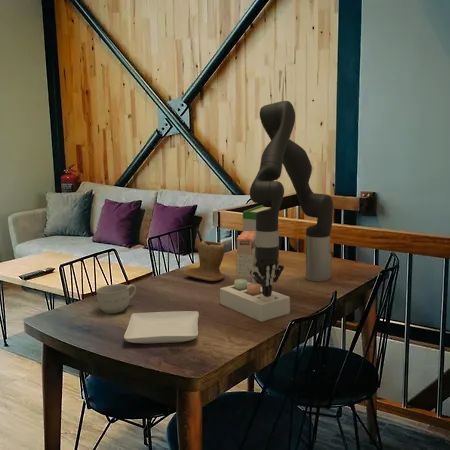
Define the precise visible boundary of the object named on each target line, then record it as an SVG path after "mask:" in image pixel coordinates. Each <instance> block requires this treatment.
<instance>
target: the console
mask: <svg viewBox="0 0 450 450" xmlns="http://www.w3.org/2000/svg"><path fill="white" fill-rule="evenodd" d="M248 284H252V283H249V282H247V285H248ZM260 287H261V293H260V294H259V295H249V294H247V289H246V290H236V289H235V288H234V284H233V285H227V286H223V287H220V288H219V303H220V305H223V306H225V307H226V308H229V309H231V310H234V311H236V312H238V313H240V314H243V315H244V316H248V317H250V318H252V319H253V320H256V321H259V322H261V323H262V322H265V321H269V320H272V319H275V318H278V317H282V316H286V315H288V314H291V297H290V296H288V295H285V294H283V293H279V292H276V291H275V290H272V295H274V300H271V301H264V300H261V295H263V294H262V285H260Z"/></svg>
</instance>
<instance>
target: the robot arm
mask: <svg viewBox="0 0 450 450" xmlns="http://www.w3.org/2000/svg"><path fill="white" fill-rule="evenodd" d="M259 120H260V123H261V125H262V127H263V129H264V131H265V133H266V134H267V135H268V137H269V139H270V141H269V143H268V144H267V145H266V146H265V148H264V149H263V152H262V154H261V157H260V164H259V170H258V171H257V173H256V176H255V177H254V179H253V182H252V183H251V186H250V188H249V197H250V199H251V201H252V202H253V203H255V204H265V205H266V204H268V205H270V204H271V208H270V209H268V210H263V211H259V212H257V214H256V234H255V258H256V260H257V261H256V264H255V269H254V270H253V271H252V270H251V271H250V274H251V276H252V277H253V278H254V280H255V281H256V282H257V284H260V286H261V287H262V294H263V295H264V296H265V297H269V296H271V294H272V291H273V284H274V283H277V282H278V280H279V278H280V276H281V274H282V272H283V270H284V269H285V267H284V265H281V264H280V263H279V260H278V259H279V258H280V257H279V256H280V235H279V215H280V209H281V205H282V201H283V199H284V195H285V188H284V185H283V184H282V182H280V181H277V180H278V179H280V178H281V175H282V170H283V167H284V169H285V171H286V174H287V175H288V177H289V179H290V181H291V183H292V186H293V188H294V191H295V193H296V196H297V199H298V202H299V205H300V208H301V210H302V212H303V214H304V215H305V216H307V217H309V218H313V219H314V218H316V219H317V221H316V224H315V225H314V224H313V225H310V226H307V227H306V230H305V279H306V280H308V281H311V282H325V281H329V280H330V279H331V278H332V265H333V264H332V261H333V260H332V257H333V256H332V253H331V230H332V228H333V227H332V226H333V214H334V213H333V212H334V202H333V199H332V197H331V195H329V194H326V193H325V194H324V193H315V192H314V191H313V189H311V186H310V183H309V182H310V179H311V175H312V171H313V166H312V163H311V160H310V157H309V156H308V153H307V152H306V150H305V149H304V148H303V147H302V146H300V145H299V144H298V143H296V142H295V141H293V140H291V139H290V138H291V135H292V133H293V129H294V126H295V122H296V111H295V108H294V105H293V103H292V102H290V101H289V100H283V101H282V100H281V101H277V102H272V103H268V104H266V105H263V106H261V108H259Z"/></svg>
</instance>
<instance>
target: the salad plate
mask: <svg viewBox="0 0 450 450" xmlns="http://www.w3.org/2000/svg"><path fill="white" fill-rule="evenodd" d="M199 315H200V313H199V311H197V310H195V311H194V310H193V311H192V310H191V311H187V310H186V311H177V310H176V311H157V312H155V311H153V312H136V313H135V312H134V313H131V315H130V317H129V322H128V325H127V328H126V329H125V333H124V335H123V338H124V339H123V340H125V341H126V342H128V343H132V344H164V343H165V344H169V343H184V342H188V341H189V342H190V341H192V340H195V339H196V338H197V337H198V335H199V328H198V327H199V325H198V324H199V322H198V321H199Z"/></svg>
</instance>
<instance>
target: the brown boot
mask: <svg viewBox="0 0 450 450" xmlns="http://www.w3.org/2000/svg"><path fill="white" fill-rule="evenodd" d="M198 244H199V245H198V250H197V251H198V259H199V260H198V261H199V266H198V267H190V268H188V269H186V270H185V271H184V272H183V275H185V276H187V277H191V278H195V279H198V280H204V281H208V282H217V281H221V280H223V279H224V278H225V274H223V273H222V272H221V270H220V268H221V265H222V262H223V259H224V255H225V252H226V251H225V245H224V243H221V242H218V241H211V240H202V241H200V243H198Z"/></svg>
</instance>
